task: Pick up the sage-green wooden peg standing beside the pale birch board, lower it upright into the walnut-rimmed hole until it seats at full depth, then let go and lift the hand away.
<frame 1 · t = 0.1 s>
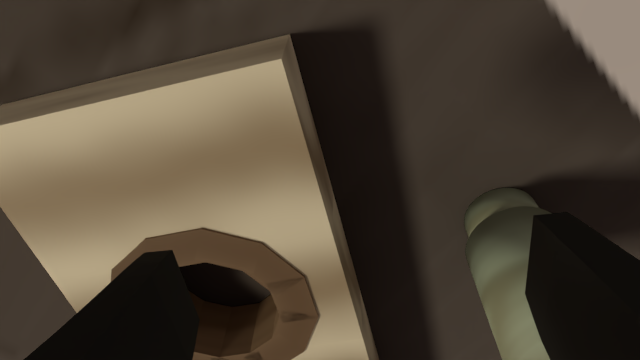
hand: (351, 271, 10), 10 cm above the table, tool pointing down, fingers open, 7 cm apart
socket board: (227, 264, 23), on the table
green peg: (500, 217, 21), on the table
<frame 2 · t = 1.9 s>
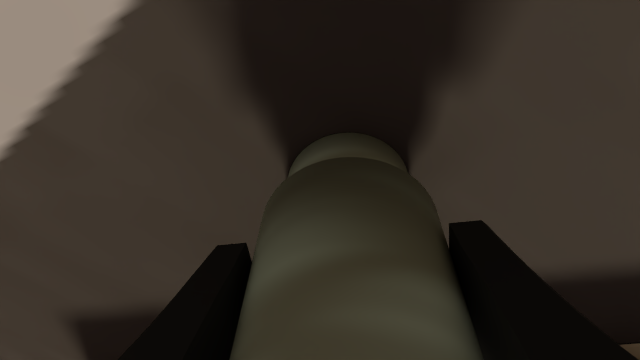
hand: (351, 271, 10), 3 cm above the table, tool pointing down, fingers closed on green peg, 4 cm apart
green peg: (347, 187, 12), on the table, touching gripper
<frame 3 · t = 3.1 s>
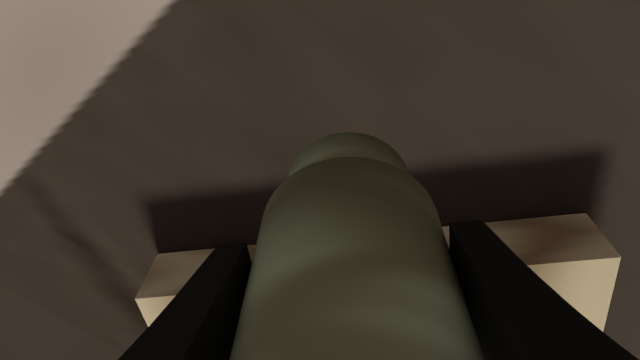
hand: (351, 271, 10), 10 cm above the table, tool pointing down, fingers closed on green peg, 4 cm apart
socket board: (372, 323, 25), on the table
green peg: (347, 187, 12), point 7 cm above the table, touching gripper
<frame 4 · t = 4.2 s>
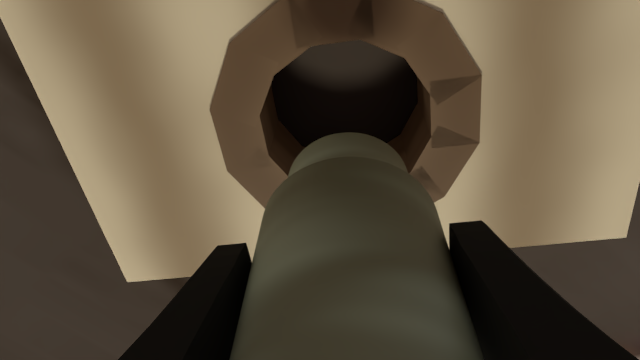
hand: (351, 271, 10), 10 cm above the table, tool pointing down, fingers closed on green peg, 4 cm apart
socket board: (344, 93, 18), on the table
green peg: (347, 187, 12), point 7 cm above the table, touching gripper
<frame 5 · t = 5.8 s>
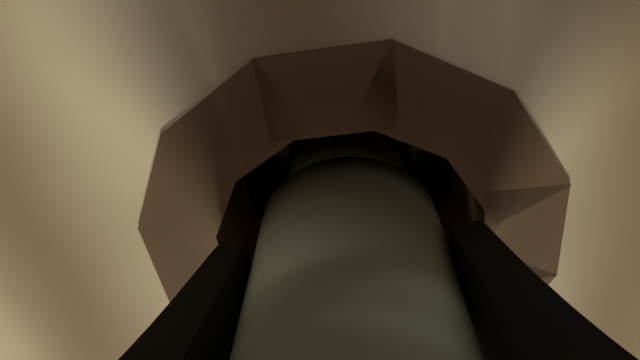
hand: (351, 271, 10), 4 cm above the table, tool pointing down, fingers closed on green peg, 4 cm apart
socket board: (347, 178, 13), on the table
green peg: (347, 187, 12), on the table, touching gripper
when the fingers open (4 cm above the table, at t = 6.8 s): green peg stays where it is, on the table.
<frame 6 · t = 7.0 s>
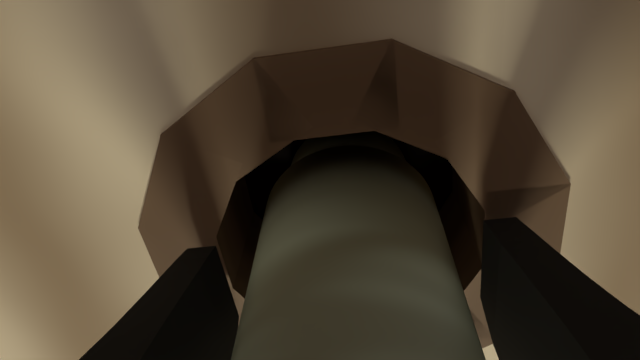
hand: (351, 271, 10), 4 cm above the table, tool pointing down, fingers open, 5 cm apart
socket board: (347, 178, 13), on the table
green peg: (348, 177, 13), on the table
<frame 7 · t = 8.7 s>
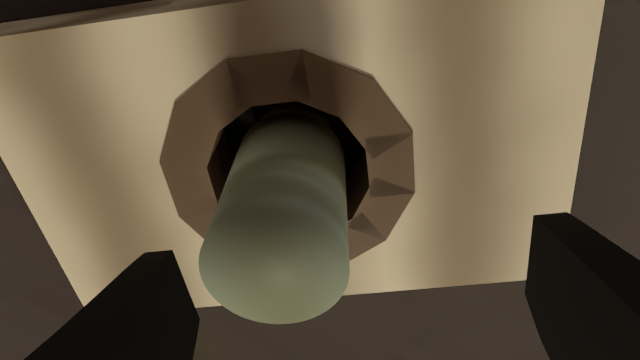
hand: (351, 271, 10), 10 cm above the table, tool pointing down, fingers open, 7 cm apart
socket board: (294, 139, 19), on the table
green peg: (295, 138, 19), on the table
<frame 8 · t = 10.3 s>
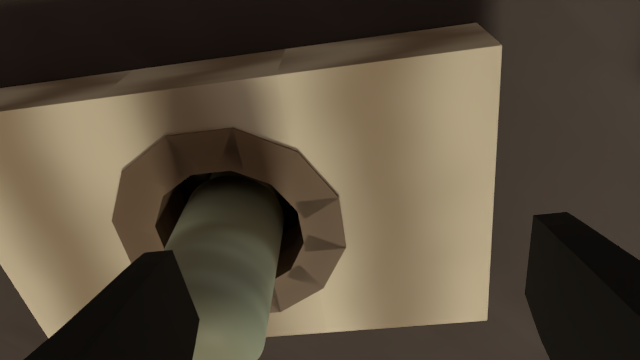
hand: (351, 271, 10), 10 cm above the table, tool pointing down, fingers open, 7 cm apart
socket board: (243, 191, 21), on the table
green peg: (243, 191, 21), on the table
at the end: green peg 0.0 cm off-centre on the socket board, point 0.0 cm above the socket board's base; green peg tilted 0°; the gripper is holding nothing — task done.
